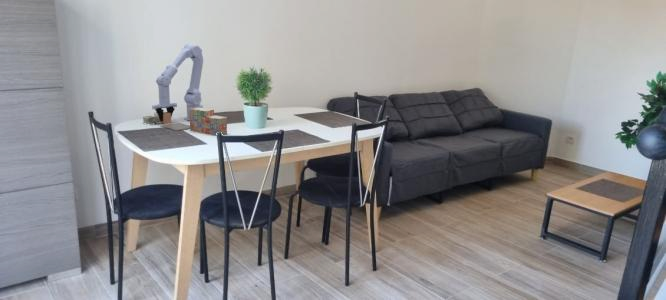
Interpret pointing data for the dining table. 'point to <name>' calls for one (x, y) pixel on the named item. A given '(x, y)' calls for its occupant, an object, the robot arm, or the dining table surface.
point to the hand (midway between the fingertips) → (165, 120)
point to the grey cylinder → (156, 117)
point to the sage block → (149, 119)
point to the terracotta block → (166, 118)
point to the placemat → (177, 126)
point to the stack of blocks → (207, 121)
